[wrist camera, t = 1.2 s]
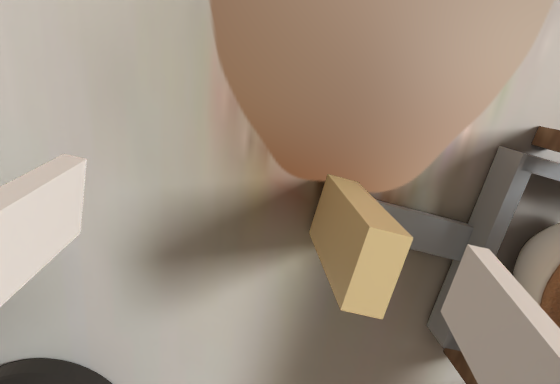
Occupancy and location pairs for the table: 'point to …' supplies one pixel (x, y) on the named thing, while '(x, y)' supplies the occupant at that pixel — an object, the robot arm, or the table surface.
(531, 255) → the lidded jar
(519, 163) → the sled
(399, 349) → the table surface
